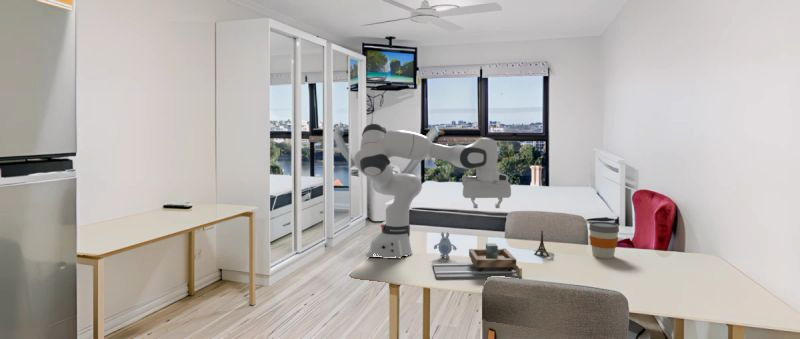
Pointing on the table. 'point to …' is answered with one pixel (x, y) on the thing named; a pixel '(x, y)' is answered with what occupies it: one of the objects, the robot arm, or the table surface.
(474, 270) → the track
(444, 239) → the toy figure
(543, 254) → the eiffel tower figurine
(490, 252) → the slate block
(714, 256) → the table surface
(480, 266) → the shallow wooden tray
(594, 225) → the reusable coffee cup
